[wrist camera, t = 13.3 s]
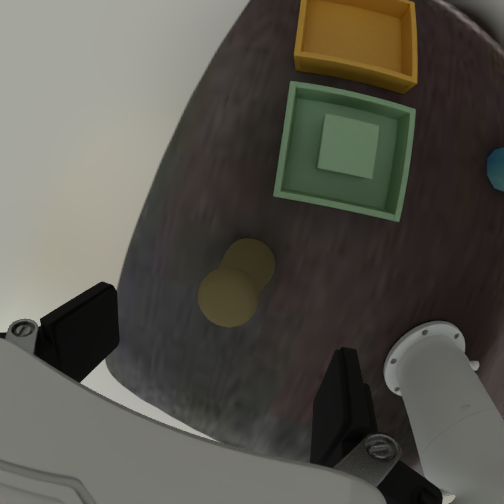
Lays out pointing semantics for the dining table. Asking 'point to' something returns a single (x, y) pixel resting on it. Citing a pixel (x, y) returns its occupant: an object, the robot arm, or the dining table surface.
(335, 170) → the green block
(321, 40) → the ochre bin
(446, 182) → the dining table surface
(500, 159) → the cup
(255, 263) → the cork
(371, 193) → the green bin
